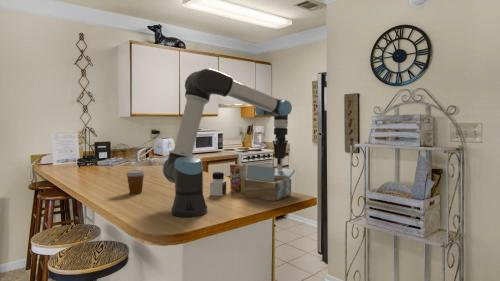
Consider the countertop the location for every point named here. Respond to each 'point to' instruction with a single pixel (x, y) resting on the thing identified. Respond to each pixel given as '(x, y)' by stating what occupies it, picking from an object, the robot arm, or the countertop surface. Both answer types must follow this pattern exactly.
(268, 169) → the near flap
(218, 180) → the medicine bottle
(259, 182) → the carton
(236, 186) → the candy box
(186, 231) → the countertop surface
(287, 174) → the far flap
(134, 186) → the disposable coffee cup
